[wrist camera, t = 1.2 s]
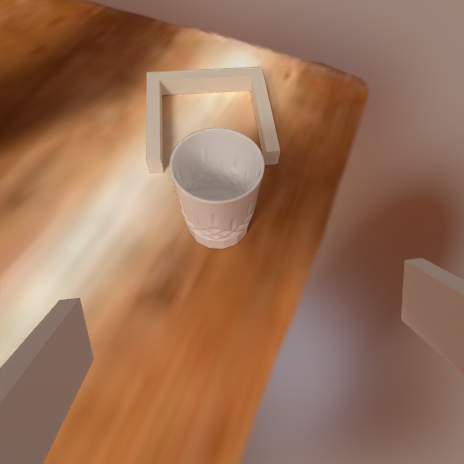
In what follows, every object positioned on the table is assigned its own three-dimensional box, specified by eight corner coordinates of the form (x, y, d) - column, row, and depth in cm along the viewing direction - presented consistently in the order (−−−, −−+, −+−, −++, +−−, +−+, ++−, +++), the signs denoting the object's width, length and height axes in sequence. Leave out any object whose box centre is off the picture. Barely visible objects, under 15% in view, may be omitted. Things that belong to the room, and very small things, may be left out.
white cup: (237, 183, 39) (242, 117, 30) (266, 239, 36) (280, 184, 27) (172, 204, 38) (157, 141, 29) (196, 265, 34) (187, 216, 26)
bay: (277, 164, 41) (280, 150, 39) (149, 173, 40) (145, 159, 37) (259, 82, 47) (261, 66, 45) (150, 87, 46) (146, 72, 44)
